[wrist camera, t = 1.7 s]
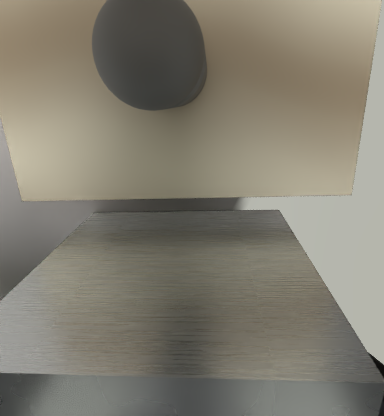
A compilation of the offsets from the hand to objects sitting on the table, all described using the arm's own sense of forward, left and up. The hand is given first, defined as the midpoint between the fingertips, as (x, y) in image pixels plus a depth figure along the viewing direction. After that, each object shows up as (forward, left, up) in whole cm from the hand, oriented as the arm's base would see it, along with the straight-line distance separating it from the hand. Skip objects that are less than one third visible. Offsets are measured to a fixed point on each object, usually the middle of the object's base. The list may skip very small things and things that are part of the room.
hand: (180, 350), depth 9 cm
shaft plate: (+8, 0, -3) cm, 8 cm away
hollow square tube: (0, 0, -3) cm, 3 cm away
